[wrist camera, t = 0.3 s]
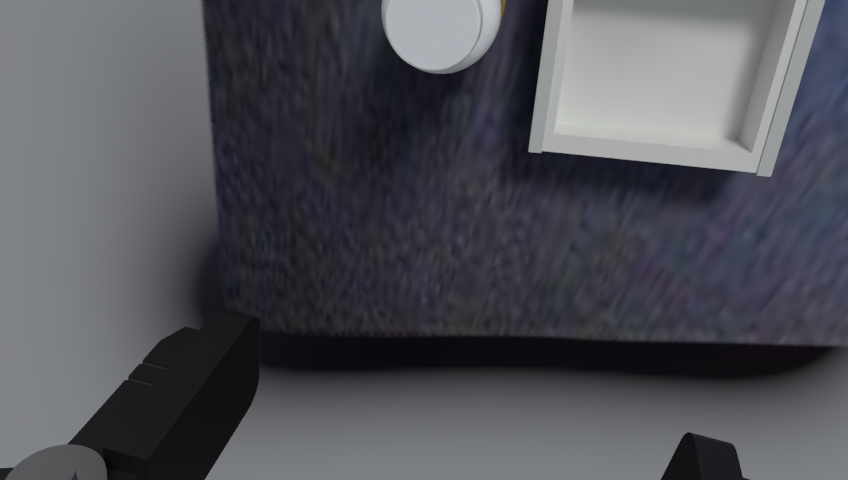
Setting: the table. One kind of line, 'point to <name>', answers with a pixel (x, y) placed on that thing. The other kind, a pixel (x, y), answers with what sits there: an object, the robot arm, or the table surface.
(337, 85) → the table surface
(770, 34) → the crate
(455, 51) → the supplement bottle
